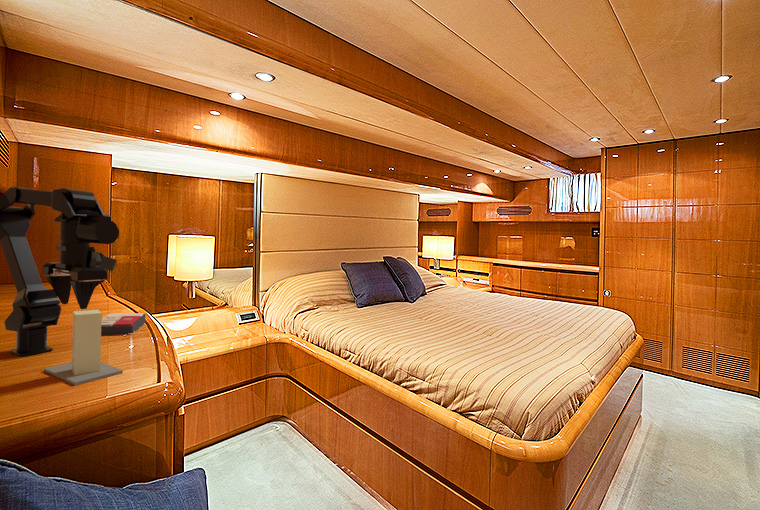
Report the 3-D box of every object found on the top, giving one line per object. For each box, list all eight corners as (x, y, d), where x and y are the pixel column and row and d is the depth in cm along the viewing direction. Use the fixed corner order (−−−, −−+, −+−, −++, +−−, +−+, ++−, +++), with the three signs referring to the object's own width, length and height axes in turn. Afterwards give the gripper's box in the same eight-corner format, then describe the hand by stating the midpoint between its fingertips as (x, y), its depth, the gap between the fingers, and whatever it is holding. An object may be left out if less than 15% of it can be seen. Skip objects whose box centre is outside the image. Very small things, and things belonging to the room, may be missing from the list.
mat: (44, 371, 83) (44, 368, 83) (90, 360, 91) (90, 358, 91) (75, 385, 77) (75, 382, 77) (122, 372, 85) (122, 370, 84)
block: (71, 369, 83) (73, 311, 83) (96, 365, 87) (98, 309, 86) (74, 375, 80) (75, 315, 80) (100, 370, 83) (101, 313, 83)
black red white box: (89, 324, 112) (108, 311, 126) (89, 338, 112) (108, 324, 126) (132, 323, 115) (145, 311, 129) (132, 337, 116) (145, 323, 130)
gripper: (132, 244, 93) (131, 307, 93) (93, 241, 102) (92, 298, 102) (79, 243, 83) (78, 313, 84) (41, 240, 92) (40, 303, 92)
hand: (74, 306), depth 91 cm, fingers open, 9 cm apart
